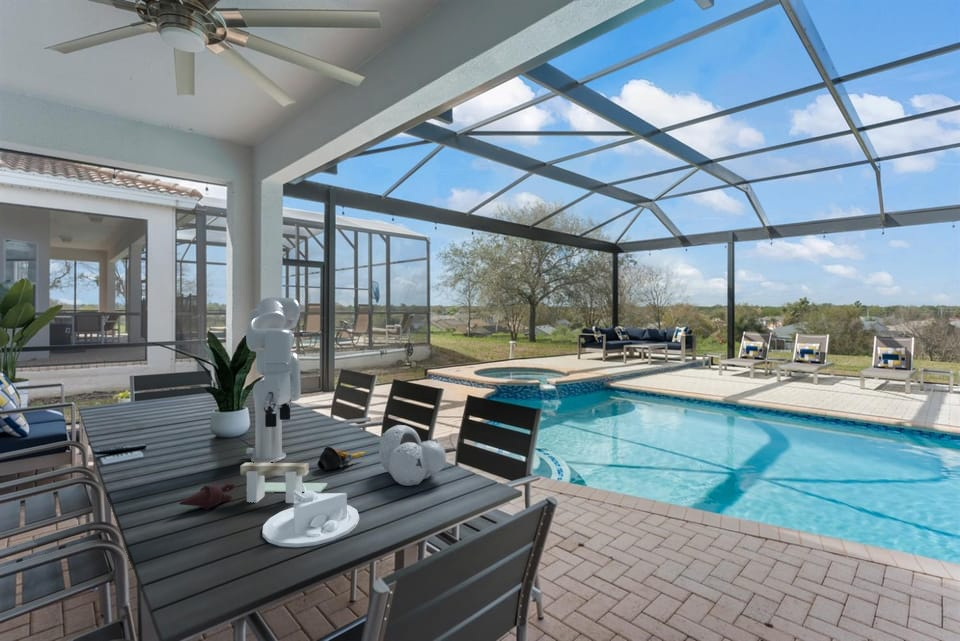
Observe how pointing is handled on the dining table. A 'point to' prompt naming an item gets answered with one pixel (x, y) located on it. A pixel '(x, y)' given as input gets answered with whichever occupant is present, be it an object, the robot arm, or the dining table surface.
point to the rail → (275, 468)
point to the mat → (309, 487)
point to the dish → (311, 520)
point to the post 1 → (255, 486)
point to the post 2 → (292, 485)
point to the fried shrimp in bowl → (335, 459)
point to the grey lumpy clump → (409, 455)
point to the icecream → (209, 496)
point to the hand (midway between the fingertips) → (278, 423)
